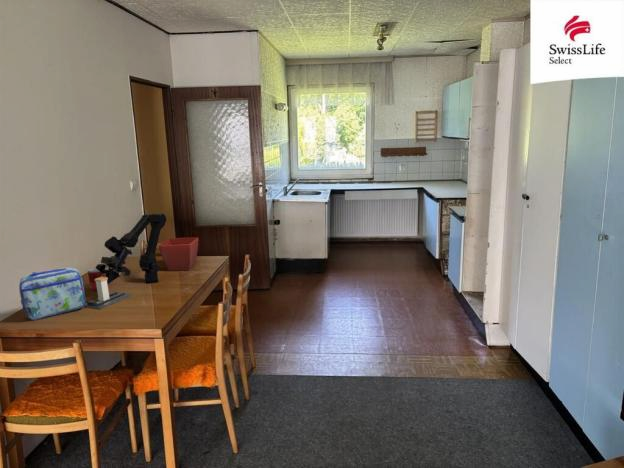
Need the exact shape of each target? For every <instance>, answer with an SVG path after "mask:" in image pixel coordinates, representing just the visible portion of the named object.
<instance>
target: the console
mask: <svg viewBox="0 0 624 468" xmlns="http://www.w3.org/2000/svg"><path fill="white" fill-rule="evenodd" d="M132 294H133V293H132V292H122V291H118V290H117V291H112V292H109V299H108V300H105V301H100V300H99V299H98V297H97V298H94V299H92V300H89V301H86V303H85V306H84V307H83V308H91V309H95V310H96V309H97V310H102V309H105V308H106V307H109V306H111V305H113V304H115V303H118V302H120V301H123V300H125V299H126V298H129V297H131V296H133V295H132Z"/></svg>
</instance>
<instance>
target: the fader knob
mask: <svg viewBox="0 0 624 468" xmlns="http://www.w3.org/2000/svg"><path fill="white" fill-rule="evenodd" d="M94 280H95V281H96V286H97V298H98V299H99V300H100V301H105V300H108V299H109V293H110V291H109V286H108V285H109V284H108V285H107V280H108V277H99V278H96V279H94Z"/></svg>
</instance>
